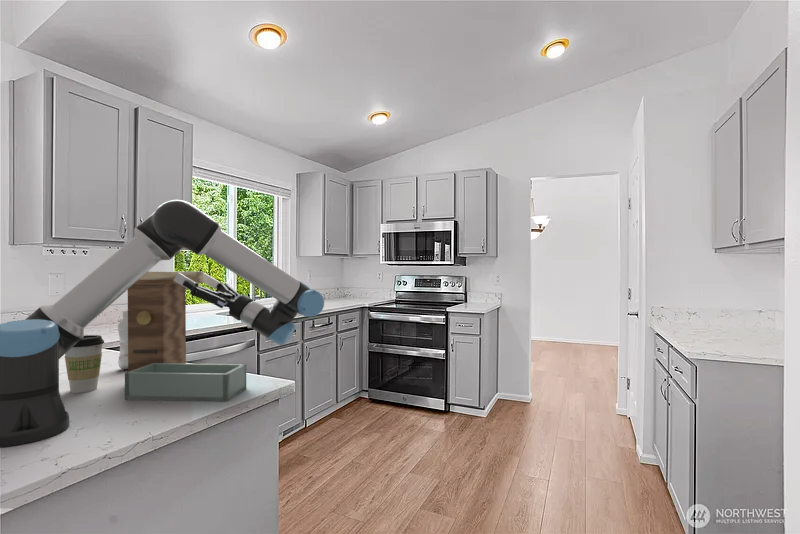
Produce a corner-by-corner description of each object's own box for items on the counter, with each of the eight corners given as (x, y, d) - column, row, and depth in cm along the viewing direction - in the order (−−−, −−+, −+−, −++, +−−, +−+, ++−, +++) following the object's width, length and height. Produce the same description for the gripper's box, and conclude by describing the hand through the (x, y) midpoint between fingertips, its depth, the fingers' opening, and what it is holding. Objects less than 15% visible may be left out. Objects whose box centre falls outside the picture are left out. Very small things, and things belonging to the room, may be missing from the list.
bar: (195, 283, 134) (195, 271, 134) (137, 283, 137) (137, 271, 137) (203, 283, 137) (203, 271, 137) (145, 282, 141) (145, 271, 141)
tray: (227, 401, 116) (227, 374, 116) (124, 399, 118) (124, 373, 118) (246, 388, 128) (246, 364, 128) (153, 386, 130) (152, 363, 130)
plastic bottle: (133, 371, 149) (133, 311, 149) (113, 371, 149) (113, 311, 149) (144, 366, 155) (144, 309, 155) (125, 366, 156) (125, 309, 155)
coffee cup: (82, 395, 121) (82, 340, 121) (53, 393, 123) (52, 339, 123) (112, 386, 131) (112, 335, 131) (84, 384, 133) (84, 334, 133)
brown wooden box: (162, 386, 130) (162, 280, 130) (123, 385, 131) (123, 280, 131) (188, 374, 144) (187, 278, 144) (152, 374, 145) (152, 278, 145)
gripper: (221, 326, 124) (158, 288, 125) (256, 316, 149) (203, 284, 150) (234, 303, 124) (171, 265, 125) (267, 297, 149) (214, 265, 150)
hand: (188, 275), depth 137 cm, fingers open, 13 cm apart
